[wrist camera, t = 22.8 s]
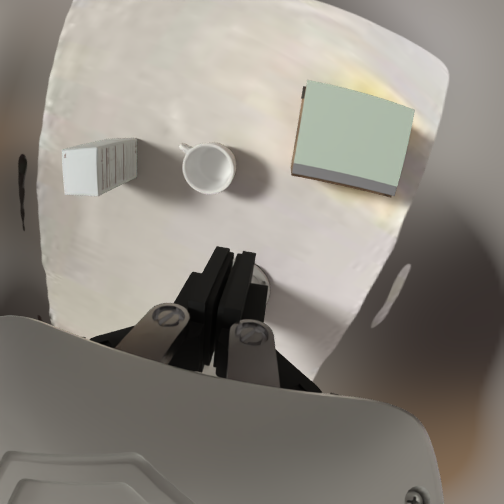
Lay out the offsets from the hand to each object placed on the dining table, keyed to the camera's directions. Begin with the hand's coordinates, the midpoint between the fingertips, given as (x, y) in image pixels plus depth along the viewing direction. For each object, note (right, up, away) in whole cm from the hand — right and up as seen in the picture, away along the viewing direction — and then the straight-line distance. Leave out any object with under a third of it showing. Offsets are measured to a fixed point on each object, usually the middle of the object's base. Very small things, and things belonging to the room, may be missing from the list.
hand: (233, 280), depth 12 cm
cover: (+14, +16, +21) cm, 30 cm away
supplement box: (-23, +18, +34) cm, 44 cm away
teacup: (-6, +16, +33) cm, 37 cm away
